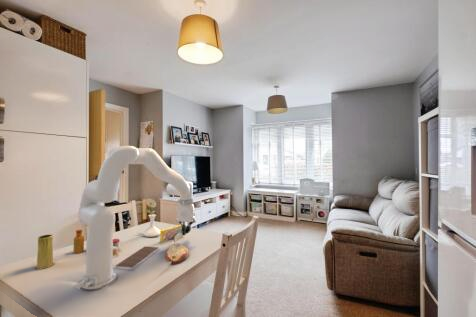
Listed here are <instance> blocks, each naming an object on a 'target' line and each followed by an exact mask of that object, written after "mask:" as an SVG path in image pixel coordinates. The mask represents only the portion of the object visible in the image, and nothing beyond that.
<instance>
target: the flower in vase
mask: <svg viewBox="0 0 476 317" xmlns="http://www.w3.org/2000/svg"><path fill="white" fill-rule="evenodd" d="M144 203H145V204H146V205H147V206H148V209H145V210H144V213H149V214H148V215H147V216H148V217H149V220H150V223H149V227H147V228H146V229H145V230H144V231H143V233H142V235H143V236H144V237H146V238H153V237H154V238H155V237H157V236H160V232H161V229H159V228H158V227H157V226H155V218H156V216H157V214H154V213H155V212H156V209H155V210H153V211H150V210H151V209H150V208H156V207H157V201H156V200H155V199H153V198H147V199H145V202H144Z"/></svg>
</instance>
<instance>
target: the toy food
mask: <svg viewBox="0 0 476 317" xmlns="http://www.w3.org/2000/svg"><path fill="white" fill-rule="evenodd" d="M120 246H121V240H120V238H113V256H116V255H117V254H118V251H119V250H120V249H121V247H120ZM84 247H85V237H84V236H83V229H76V230H75V237H74V238H73V250H72V251H73V253H75V254H80V253H82V252H83V251H84V249H85V248H84Z"/></svg>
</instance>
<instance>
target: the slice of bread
mask: <svg viewBox="0 0 476 317" xmlns="http://www.w3.org/2000/svg"><path fill="white" fill-rule="evenodd" d="M188 257H189V248H187V246H185V245H184V244H178V243H172V244H171V245H169V247H168V249H167V251H166V253H165V260H166V261H167V262H168V263H169V262H170V263H171V264H172V265H177V264H180V263H182V262H183V261H184V260H186V259H188Z"/></svg>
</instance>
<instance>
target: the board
mask: <svg viewBox="0 0 476 317" xmlns="http://www.w3.org/2000/svg"><path fill="white" fill-rule="evenodd" d="M158 249H159V247H158V246H143V247H141V248H140V249H139V250H137V251H135V252H134V253H133V254H131V255H129V256H128V257H126V258H125V259H123V260H122V261H120V262H119V263H117V264H115V267H121V268H130V269H132V268H134V267H135V266H137V265H138V264H139V263H141V262H142V261H143V260H145V259H146V258H147V257H149V256H150V255H151V254H153V253H154V252H155V251H157V250H158Z"/></svg>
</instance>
